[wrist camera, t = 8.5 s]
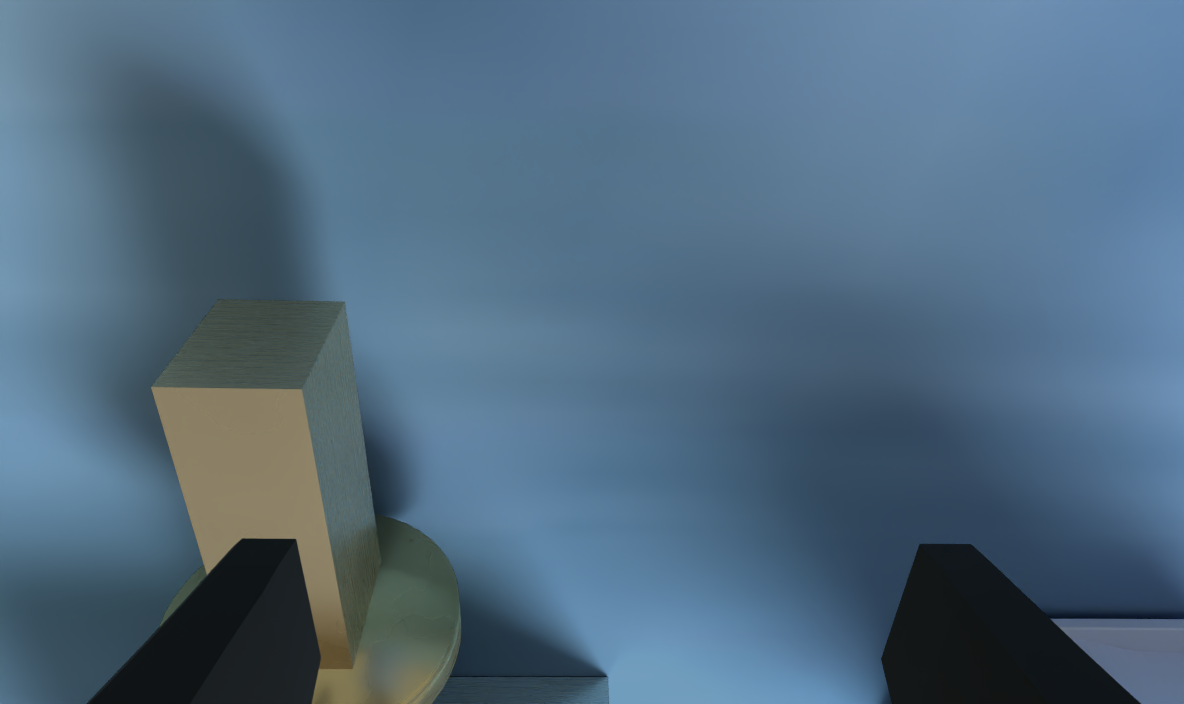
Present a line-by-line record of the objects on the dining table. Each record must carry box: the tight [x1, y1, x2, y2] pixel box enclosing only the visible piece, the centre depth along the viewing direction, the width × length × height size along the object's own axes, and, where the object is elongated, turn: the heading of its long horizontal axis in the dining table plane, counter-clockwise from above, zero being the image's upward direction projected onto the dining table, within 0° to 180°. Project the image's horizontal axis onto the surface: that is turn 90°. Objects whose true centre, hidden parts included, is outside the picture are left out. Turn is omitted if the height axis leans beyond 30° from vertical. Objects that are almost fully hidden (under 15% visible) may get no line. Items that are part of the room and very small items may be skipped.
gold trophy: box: [151, 299, 461, 704], centre depth 18 cm, size 6×14×6 cm, turn 178°
